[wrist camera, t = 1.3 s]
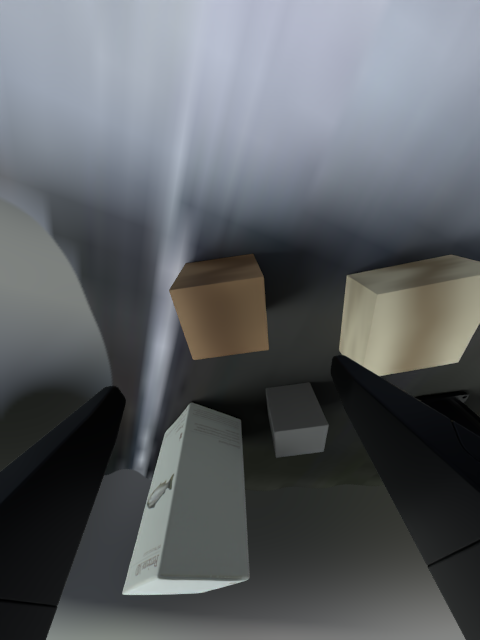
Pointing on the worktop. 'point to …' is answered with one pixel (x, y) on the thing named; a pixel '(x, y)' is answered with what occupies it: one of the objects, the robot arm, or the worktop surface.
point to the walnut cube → (222, 306)
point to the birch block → (411, 314)
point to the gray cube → (296, 420)
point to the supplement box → (194, 510)
